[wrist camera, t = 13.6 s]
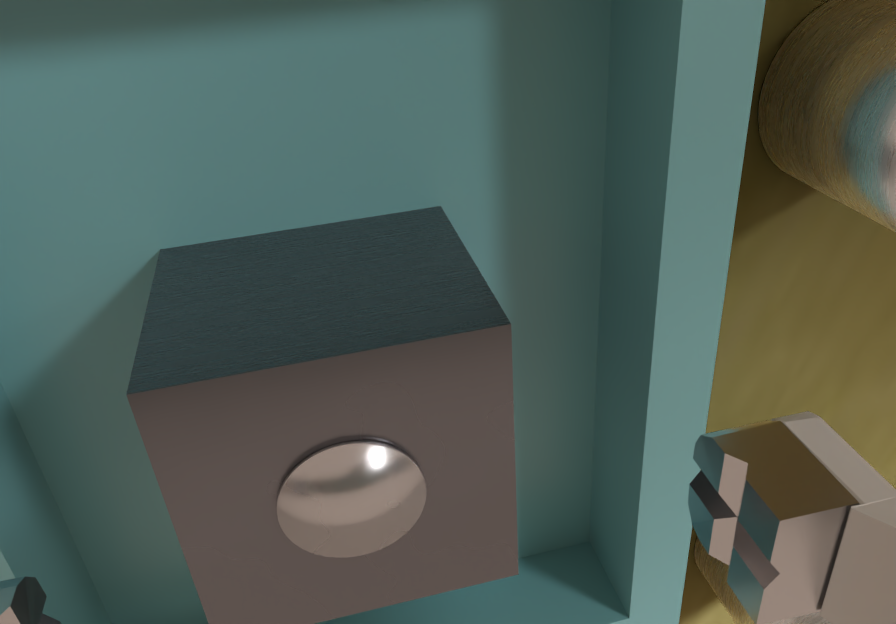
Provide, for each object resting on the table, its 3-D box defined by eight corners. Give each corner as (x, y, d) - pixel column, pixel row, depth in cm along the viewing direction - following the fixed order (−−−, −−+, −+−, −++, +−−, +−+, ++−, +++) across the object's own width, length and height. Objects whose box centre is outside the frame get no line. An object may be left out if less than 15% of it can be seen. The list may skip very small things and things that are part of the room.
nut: (440, 205, 13) (513, 328, 9) (457, 418, 15) (520, 579, 12) (160, 249, 12) (124, 399, 8) (223, 466, 14) (217, 652, 11)
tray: (673, -217, 11) (799, -245, 9) (620, 540, 19) (676, 640, 17) (-326, -152, 9) (-550, -165, 6) (90, 666, 17) (63, 802, 15)
